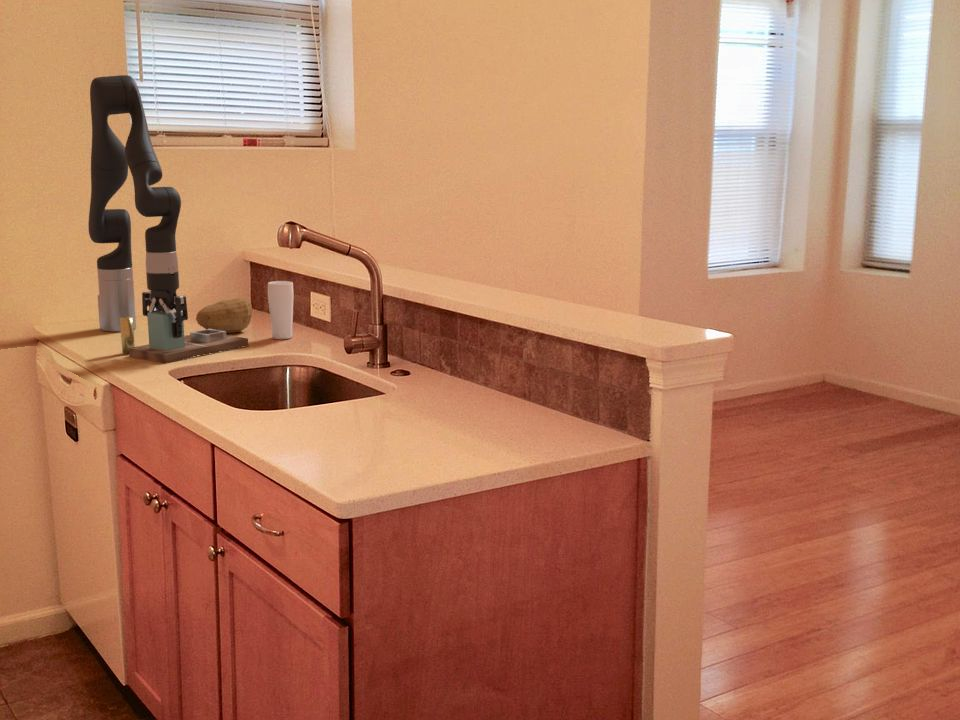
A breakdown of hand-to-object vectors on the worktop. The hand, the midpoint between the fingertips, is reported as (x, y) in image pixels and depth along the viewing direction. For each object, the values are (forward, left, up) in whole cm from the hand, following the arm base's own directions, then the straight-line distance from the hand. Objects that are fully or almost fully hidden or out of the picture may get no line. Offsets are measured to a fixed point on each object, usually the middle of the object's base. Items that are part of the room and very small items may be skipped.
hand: (166, 335), depth 265 cm
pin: (-10, -4, -5) cm, 12 cm away
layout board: (0, +7, -5) cm, 9 cm away
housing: (0, 0, -3) cm, 3 cm away
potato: (-12, +29, -5) cm, 32 cm away
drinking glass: (+6, +33, -5) cm, 34 cm away
